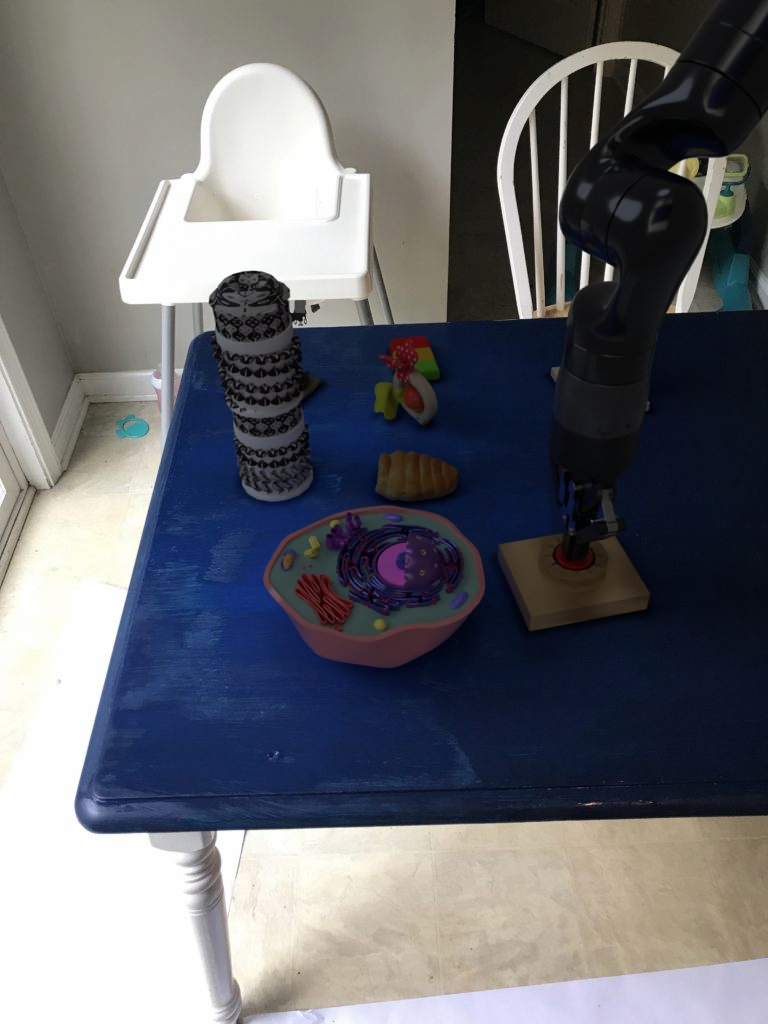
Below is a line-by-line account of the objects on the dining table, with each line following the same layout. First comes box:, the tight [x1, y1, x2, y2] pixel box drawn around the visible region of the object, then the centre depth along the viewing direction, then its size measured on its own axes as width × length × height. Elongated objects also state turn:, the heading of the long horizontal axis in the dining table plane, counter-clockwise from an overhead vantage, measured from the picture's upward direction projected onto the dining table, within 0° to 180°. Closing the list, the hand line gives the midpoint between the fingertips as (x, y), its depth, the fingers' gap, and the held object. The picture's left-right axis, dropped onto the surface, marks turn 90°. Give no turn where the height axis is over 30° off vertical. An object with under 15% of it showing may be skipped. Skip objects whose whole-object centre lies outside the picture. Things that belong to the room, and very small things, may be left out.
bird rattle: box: [373, 338, 439, 427], centre depth 103 cm, size 6×11×9 cm
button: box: [555, 544, 593, 571], centre depth 82 cm, size 4×4×2 cm
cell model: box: [262, 505, 486, 669], centre depth 77 cm, size 17×20×11 cm
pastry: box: [374, 449, 459, 503], centre depth 95 cm, size 9×7×4 cm
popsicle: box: [389, 335, 441, 382], centre depth 112 cm, size 6×15×2 cm, turn 9°
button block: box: [497, 532, 651, 632], centre depth 83 cm, size 12×10×4 cm
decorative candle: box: [208, 270, 314, 503], centre depth 90 cm, size 9×9×25 cm
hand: (573, 554), depth 81 cm, fingers closed
